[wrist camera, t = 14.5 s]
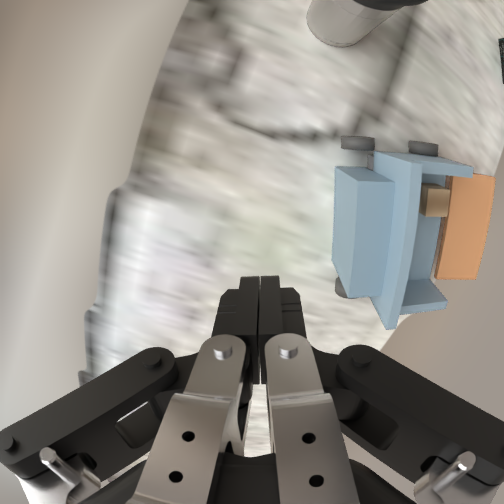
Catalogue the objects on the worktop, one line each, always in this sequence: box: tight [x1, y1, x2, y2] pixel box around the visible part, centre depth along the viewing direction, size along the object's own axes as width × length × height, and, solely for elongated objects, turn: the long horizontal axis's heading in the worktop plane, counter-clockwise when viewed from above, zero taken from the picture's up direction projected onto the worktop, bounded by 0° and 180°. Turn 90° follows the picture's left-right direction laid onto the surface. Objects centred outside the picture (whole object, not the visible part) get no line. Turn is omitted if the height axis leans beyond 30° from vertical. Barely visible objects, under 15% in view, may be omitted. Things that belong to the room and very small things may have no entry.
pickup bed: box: [332, 136, 473, 330], centre depth 38 cm, size 26×17×16 cm, turn 3°
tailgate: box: [434, 173, 496, 280], centre depth 39 cm, size 19×2×9 cm
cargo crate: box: [419, 183, 450, 217], centre depth 36 cm, size 4×4×4 cm
